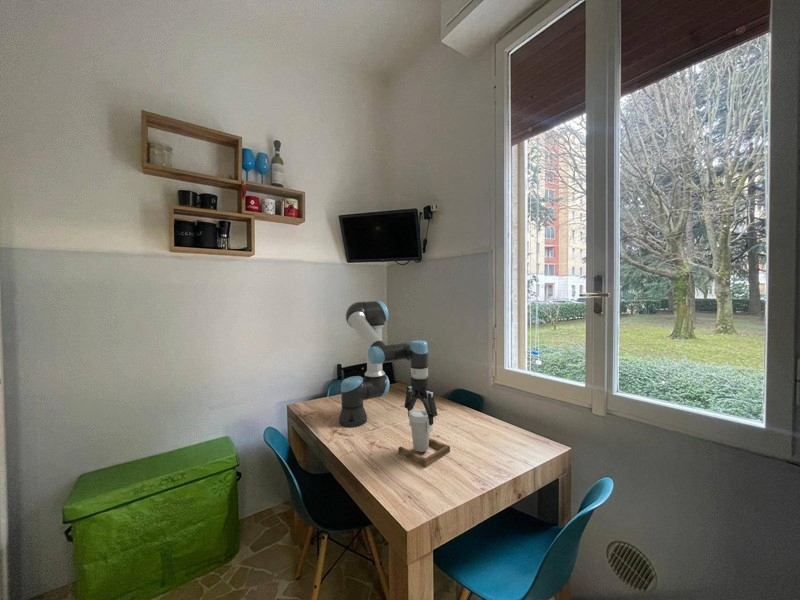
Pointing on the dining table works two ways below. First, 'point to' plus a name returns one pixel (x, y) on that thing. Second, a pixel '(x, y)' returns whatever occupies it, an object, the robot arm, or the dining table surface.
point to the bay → (430, 459)
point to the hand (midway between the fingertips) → (420, 428)
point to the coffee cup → (419, 430)
